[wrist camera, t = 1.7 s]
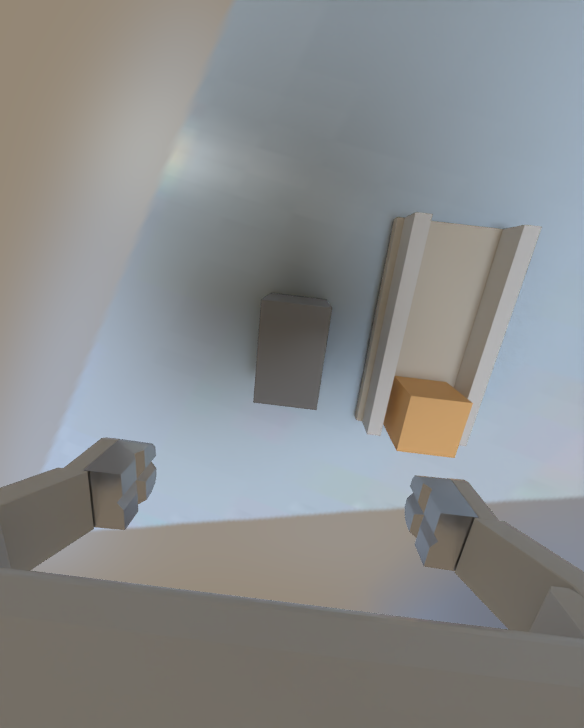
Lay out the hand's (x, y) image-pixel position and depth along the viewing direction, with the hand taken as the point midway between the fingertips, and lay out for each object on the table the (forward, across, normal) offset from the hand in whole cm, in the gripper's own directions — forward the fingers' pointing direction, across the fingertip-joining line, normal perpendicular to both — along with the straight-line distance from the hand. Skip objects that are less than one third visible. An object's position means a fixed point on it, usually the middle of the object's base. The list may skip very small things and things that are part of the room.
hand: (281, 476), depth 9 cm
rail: (+19, -12, -2) cm, 22 cm away
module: (+19, 0, 0) cm, 19 cm away
